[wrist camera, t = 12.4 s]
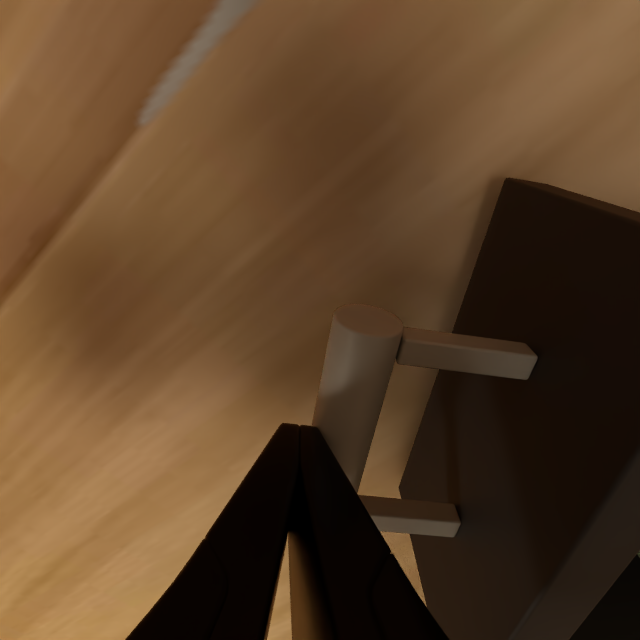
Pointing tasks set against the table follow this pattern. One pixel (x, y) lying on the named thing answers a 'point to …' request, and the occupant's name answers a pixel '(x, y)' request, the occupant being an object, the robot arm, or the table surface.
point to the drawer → (515, 426)
